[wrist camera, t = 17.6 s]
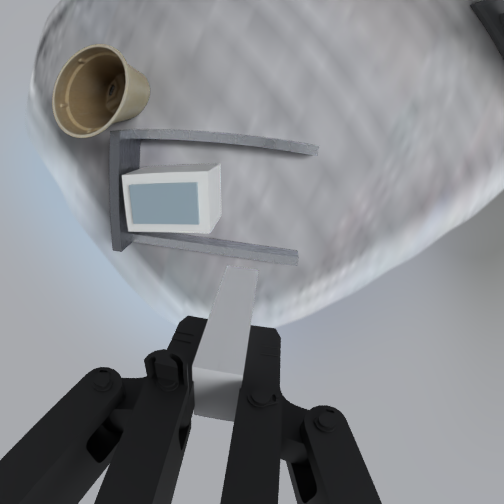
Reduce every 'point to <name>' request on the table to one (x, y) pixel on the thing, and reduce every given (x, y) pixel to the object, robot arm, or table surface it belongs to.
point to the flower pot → (97, 91)
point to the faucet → (492, 20)
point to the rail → (126, 161)
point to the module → (173, 198)
